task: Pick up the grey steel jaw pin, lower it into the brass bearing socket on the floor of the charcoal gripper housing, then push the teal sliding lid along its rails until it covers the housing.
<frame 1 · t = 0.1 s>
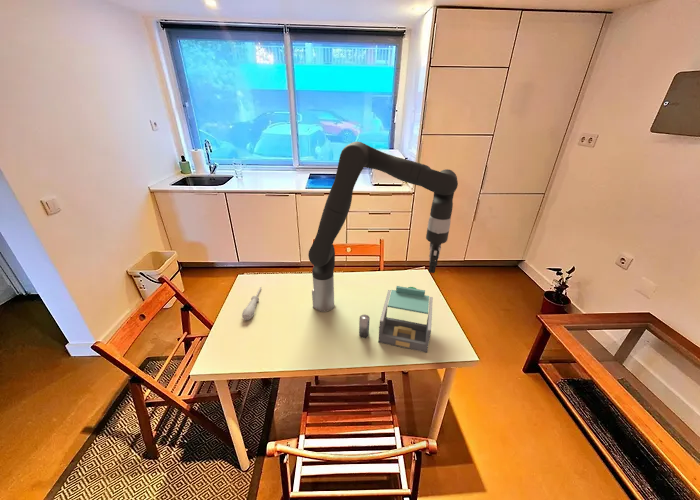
hand: (431, 266, 111), 29 cm above the table, fingers open, 8 cm apart
jaw pin: (363, 334, 119), on the table
screwdriver: (254, 304, 136), on the table
housing: (403, 337, 118), on the table
lid: (409, 298, 119), point 13 cm above the table, slide at 9.0 cm
magnifying glass: (414, 298, 141), on the table
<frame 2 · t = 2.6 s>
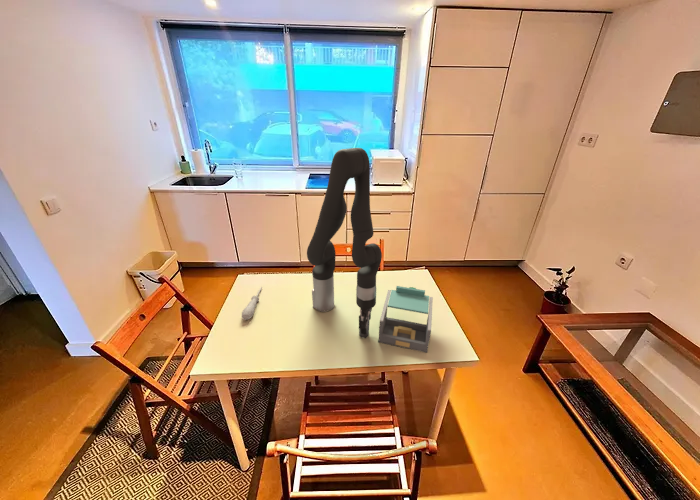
hand: (365, 326, 117), 5 cm above the table, fingers open, 8 cm apart
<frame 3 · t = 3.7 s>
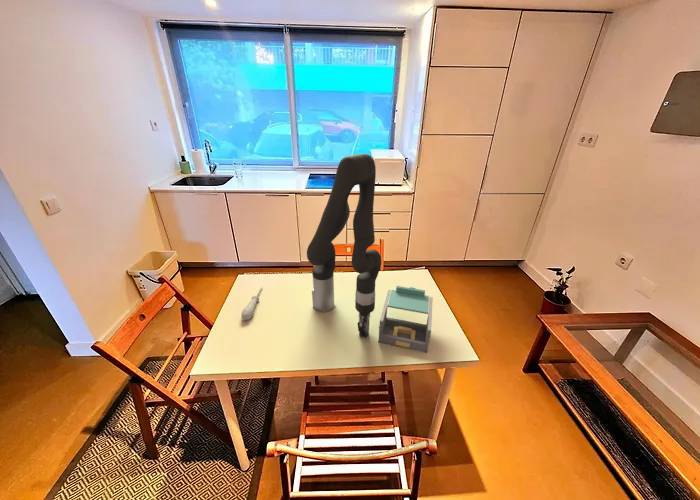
hand: (364, 331, 118), 2 cm above the table, fingers closed on jaw pin, 4 cm apart
jaw pin: (363, 334, 119), on the table, touching gripper
everything else where it was.
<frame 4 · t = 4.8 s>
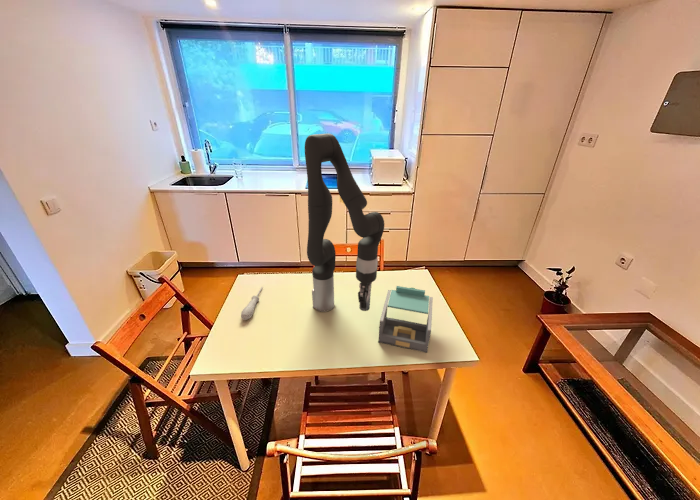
hand: (364, 304, 111), 16 cm above the table, fingers closed on jaw pin, 4 cm apart
jaw pin: (364, 307, 112), point 14 cm above the table, touching gripper
everything else where it was.
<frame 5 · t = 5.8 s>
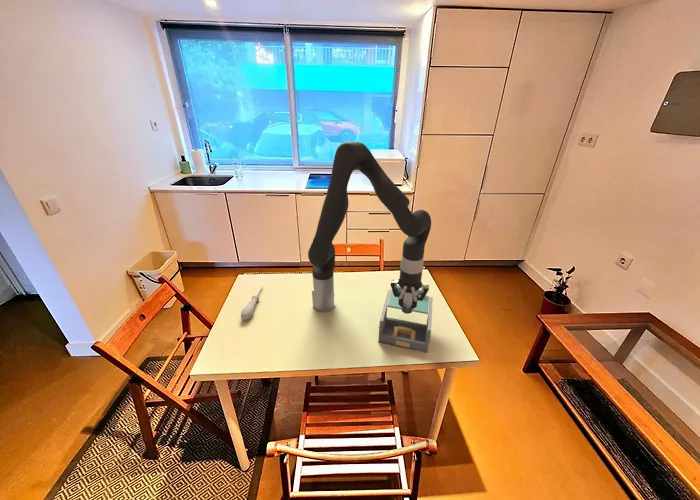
hand: (407, 306, 108), 18 cm above the table, fingers closed on jaw pin, 4 cm apart
jaw pin: (406, 310, 108), point 16 cm above the table, touching gripper
everything else where it was.
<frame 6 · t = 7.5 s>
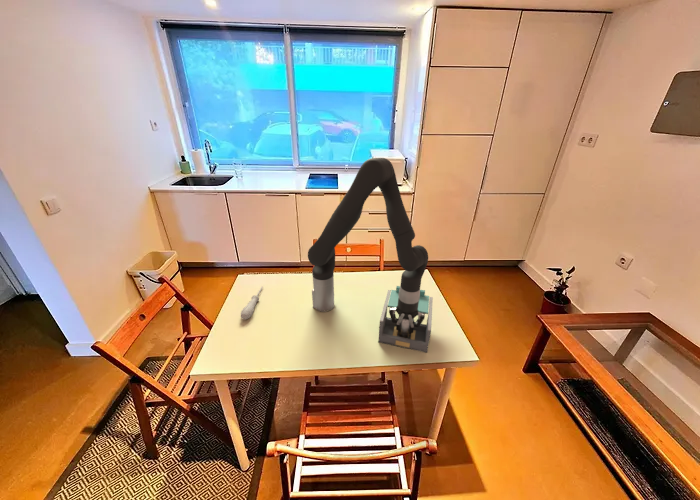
hand: (404, 331, 114), 5 cm above the table, fingers closed on jaw pin, 4 cm apart
jaw pin: (404, 334, 115), point 3 cm above the table, touching gripper
when the fingers open (5 cm above the table, at t = 7.6 s): jaw pin drops 2 cm, resting on housing.
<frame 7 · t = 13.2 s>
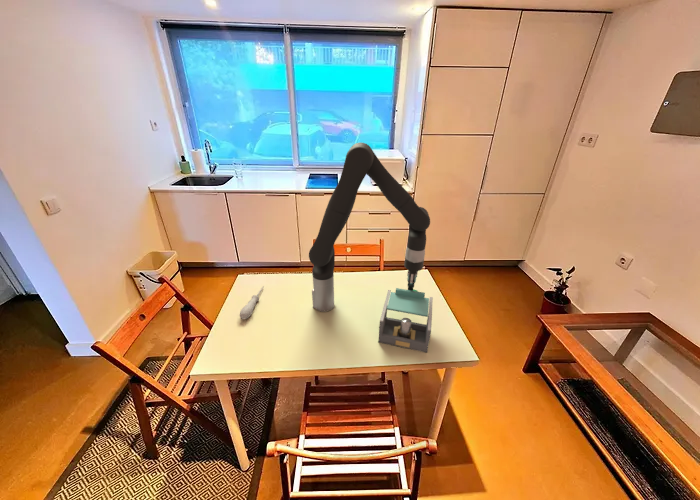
hand: (410, 291, 124), 12 cm above the table, fingers closed
jaw pin: (404, 338, 116), point 1 cm above the table, touching housing
lid: (408, 301, 118), point 13 cm above the table, slide at 7.3 cm, touching gripper
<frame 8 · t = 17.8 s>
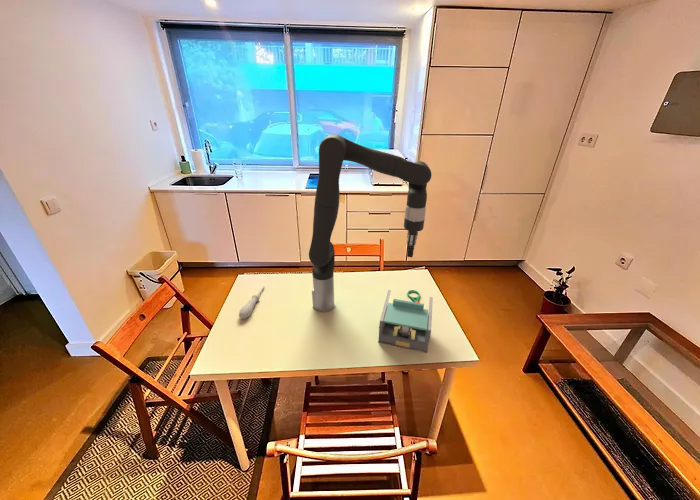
hand: (409, 256, 118), 29 cm above the table, fingers closed
lid: (406, 313, 111), point 13 cm above the table, slide at -0.2 cm
at the end: jaw pin 0.2 cm from the target spot on the housing, point 1.0 cm above the housing's base; jaw pin tilted 0°; lid slide at -0.2 cm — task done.
